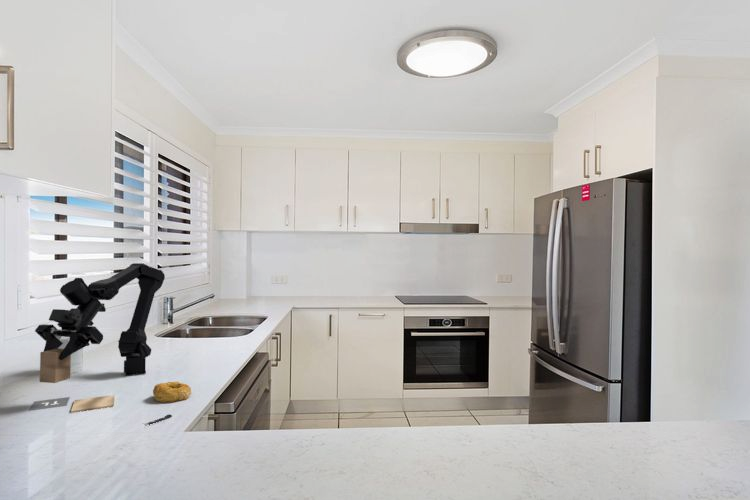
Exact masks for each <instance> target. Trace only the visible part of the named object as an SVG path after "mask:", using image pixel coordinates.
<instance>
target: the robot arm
mask: <svg viewBox="0 0 750 500" xmlns="http://www.w3.org/2000/svg"><path fill="white" fill-rule="evenodd" d="M135 279H137V280H138V282H137V283H138V286H139V289H140V291H139V294H138V298H137V301H136V304H135V308H134V311H133V315H132V318H131V322H130V325H129V326H128V327H129V328H127V329H126V330H125V331H123V330H122V331H121V332H120V336H119V339H118V342H117V343H118V346H117V348H118V351H119V355H120V357H121V358H125V360H124V361H123V374H125V376H126V377H128V376H136V375H145V374H147V371H146V363H147V362H146V359H147V358H148V357H149V356H151V354H152V348H151V347H150V346H149V344H147V341H148V340H147V339H148V337H147V334H146V331H145V328H146V326H147V322H148V318H149V316H150V315H149V314H150V312H151V308H152V305H153V302H154V298H155V294H156V293H157V292H158V291H159V290H160V289H161V287H162V286H163V283H164V281H165V273H164V272H163V270H162V269H157V268H155V267H152V266H150V265H147V264H146V263H141V262H140V263H139V262H138V263H137V262H135V263H131V264H130V265H129V266H127V267H126V268H124V269H122V270H120V271H119V272H117V273H115V274H113V275H112V276H110V277H108V278H105V279H104V278H103V279H100V280H96V281H93V282H90V283H89V285H87V284H86V283H85V280H84V279H83V278H82V277H75V278H74V279H73V280H70V281H68V282H66V283H65V284H63V285H62V286H61V287H60V289H59V292H60V294H61V295H63V297H64V298H65V299H66V300H67V301H68V302H69V303H70V304H71V305H72V306H76V308H70V310H69V309H52V311H51V313H50V315H49V317H48V321H53V322H56V323H57V326H58V327H59V328H60V329H58V328H57V327H56V326H55V325H54V324H48V323H47V324H43V323H42V324H39V325H38V326H37V327H36V328H35V330H34V332H35V333H36V334H37V335H39V336H40V338H41V339H43V340H44V341H45V345H44V349H43V351H47V350H51V349H55V348H59V347H60V346H61V345H62V344H63V343H62V342H61V341H60V338H61V337H70V340H69V342H68V344H67V345H66V347H65V348H64V350H63V351H62V353H61V354H60V356H59V359H60V360H63V359H64V358H66V357H68V356H69V355H71V354H73V353H74V352H76V351H78V350H80V349H82V348H83V349H84V348H85V347H89V346H90V344H91V345H100V344H101V343H102V341H103V340H104V335H103V333H102V332H101V331H100V330H99V329H98V328H97V327H96V326H93V325H94V324H95V322H93V320H94V319H95V317H96V316H97V314H98V313H99V312H101V313H105V312H106V310H107V308H106V306H105V303H101V301H111V300H112V299H114V297H116V296H117V295H118V294H119V292H120V290H121V288H123V287H124V286H125V285H128V284H129V283H131V282H132V281H134V280H135Z"/></svg>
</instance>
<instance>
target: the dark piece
mask: <svg viewBox="0 0 750 500" xmlns="http://www.w3.org/2000/svg"><path fill="white" fill-rule="evenodd" d="M172 417H173V416H172V414H166V415H164V416H163V417H160V418H157V419H155V420H152V421H149V422H146V423H143V424H144V425H145V426H147V425H149V426H151V425H150V424H152V425H154V424H153V423H155V424H157V423H160V422H163V421H165V420H167V419H171V418H172ZM162 420H163V421H162ZM159 421H160V422H159ZM156 422H157V423H156ZM147 427H148V426H147Z"/></svg>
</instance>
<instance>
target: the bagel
mask: <svg viewBox="0 0 750 500" xmlns="http://www.w3.org/2000/svg"><path fill="white" fill-rule="evenodd" d="M152 394H153V397H154V400H155V401H156V400H157V402H158V403H159V402H160V403H174V402H178V401H186V400H187V399H189V397H190V396H191V395H192V388H191V387H190V386H189V385H188V384H187V383H182V382H181V383H180V382H179V381H168V382H163V383H162V382H160V383H157V384H156V385H154V387H153V389H152Z"/></svg>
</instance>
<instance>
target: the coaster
mask: <svg viewBox="0 0 750 500" xmlns="http://www.w3.org/2000/svg"><path fill="white" fill-rule="evenodd" d="M115 398H116V396H115V394H112V395H111V394H110V395H105V396H95V397H88V398H80V399H75V400H74V401H73V405H72V407H71V411H70V414H74V413H80V411H81V412H87V410H88V411H94V409H95V410H100V409H101V408H102V409H107V407H109V408H114V407H115ZM113 406H114V407H113Z"/></svg>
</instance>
